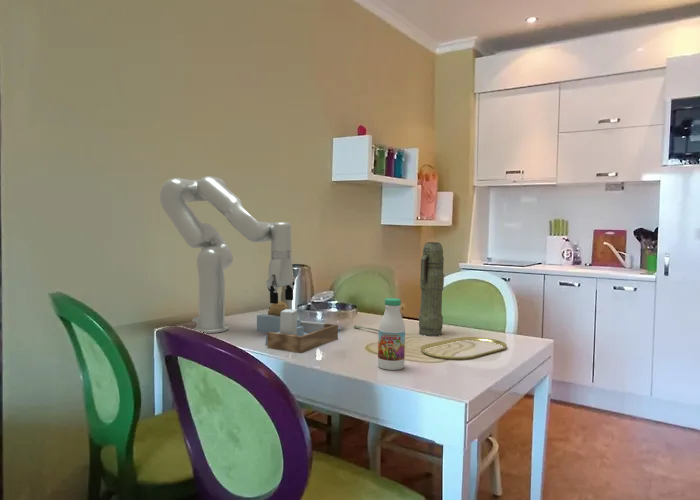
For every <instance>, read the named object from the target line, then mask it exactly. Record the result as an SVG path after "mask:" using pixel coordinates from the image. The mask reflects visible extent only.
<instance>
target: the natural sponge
mask: <svg viewBox="0 0 700 500" xmlns="http://www.w3.org/2000/svg"><path fill="white" fill-rule="evenodd" d="M286 309H290V307H289V306H288V304H287V303H286V302H284V301H282V300H278V304H273V303H271V305H270V306H269V309H268V311H267V315H273V316H280V312H281V311H283V310H286Z"/></svg>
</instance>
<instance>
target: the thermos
mask: <svg viewBox="0 0 700 500" xmlns="http://www.w3.org/2000/svg"><path fill="white" fill-rule="evenodd" d="M444 260H445V259H444V249H443V245H442V243H440V242H435V241H434V242H432V241H430V242H426V243H424V245H423V249H422V255H421V259H420V283H419V286H420V287H419V288H420V295H421V296H420V313H419V316H418V327H419V331H418V333H419V335H421V336H424V335H426V337H440V336H442V335H443V331H442V330H443V321H444V320H443V319H444V317H443V314H442V310H443V309H442V305H443V291H444V287H445V285H444V283H445V281H444V280H445V274H444ZM441 334H442V335H441ZM439 335H440V336H439Z"/></svg>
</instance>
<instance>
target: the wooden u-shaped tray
mask: <svg viewBox="0 0 700 500" xmlns="http://www.w3.org/2000/svg"><path fill="white" fill-rule="evenodd" d="M324 323H325V324H324V328H323V329H320V330H317V331H314V332H311V333H305V334H304V335H303V336H295V335H288V334H281V333H274V332H266V333H267V334H266V335H267V345H266V346H267V347H266V348H267V349H274V350H280V351H281V350H282V351H285V352H286V351H288V352H293V353H300V354H301V353H304V352H307V351H310V350H313V349H315V348H317V347H320V346H322V345H325V344H328V343H330V342H333V341H335V340H337V339H339V338H338V337H339V325H338V324H335V323H329V324H327V323H328V322H324Z"/></svg>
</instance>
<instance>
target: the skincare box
mask: <svg viewBox="0 0 700 500" xmlns="http://www.w3.org/2000/svg"><path fill="white" fill-rule="evenodd" d="M297 319H298V309H291V308H289V309H286V310H283V311H281V312H280V333H281V334H288V335H295V336H297Z"/></svg>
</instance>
